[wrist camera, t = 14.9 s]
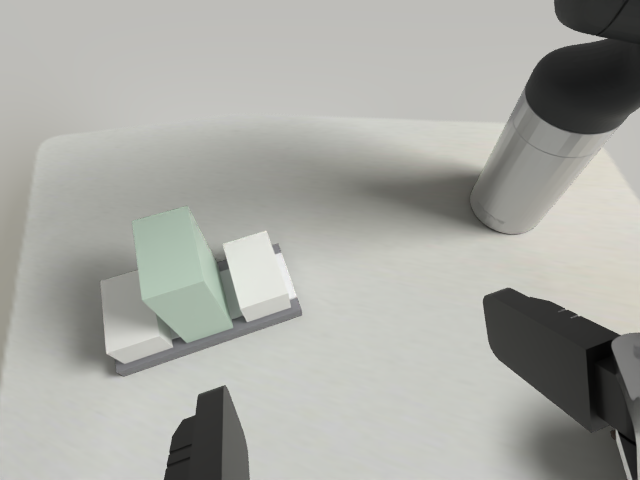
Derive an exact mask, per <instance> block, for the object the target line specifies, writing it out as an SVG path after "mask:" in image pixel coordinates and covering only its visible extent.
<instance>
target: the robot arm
mask: <svg viewBox="0 0 640 480" xmlns="http://www.w3.org/2000/svg"><path fill="white" fill-rule="evenodd" d="M554 5H555V13H556V15H557V18H558V20H559V21H560V22H561V23H562V24H563V25H565V26H567V27H569V28H571V29H573V30H575V31H578V32H582V33H586V34H591V35H596V36H599V37H605V38H608V39H605V40H601V41H596V42H591V43H585V44H578V45H572V46H567V47H563V48H560V49H557V50H554V51H552V52H551V53H549V54H547V55H546V56H545V57H543V58H542V59H541V60H540V62H539V63H538V64H537V66H536V67H535V68H534V70H533V72H532V74H531V76H530V78H529V80H528V82H527V84H526V86H525V88H524V90H523V92H522V94H521V96H520V98H519V100H518V102H517V104H516V106H515V108H514V110H513V112H512V114H511V116H510V118H509V120H508V122H507V124H506V126H505V128H504V129H503V131H502V133H501V135H500V137H499V139H498V141H497V143H496V145H495V147H494V149H493V151H492V153H491V155H490V157H489V159H488V161H487V163H486V165H485V167H484V168H483V170H482V172H481V174H480V176H479V178H478V180H477V182H476V184H475V186H474V188H473V190H472V192H471V196H470V203H471V207H472V210H473V212H474V213H475V215H476V216H477V218H478V219H479V220H480V221H481V222H483V223H484V224H485V225H487V226H488V227H490V228H492V229H494V230H496V231H499V232H502V233H508V234H521V233H524V232H528V231H529V230H531V229H533V228H534V227H535V226H536V225H537V224H538V223H539V222H540V221H541V220H542V218H543V217H544V216H545V215H546V214H547V212H548V211H549V210H550V209H551V208H552V207H553V205H554V204H555V203H556V202H557V201H558V199H559V198H560V197H561V196H562V195H563V193H564V192H565V191H566V190H567V189H568V187H569V186H570V185H571V184H572V183H573V181H574V180H575V179H576V178H577V177H578V175H579V174H580V173H581V172H582V171H583V169H584V168H585V167H586V166H587V165H588V163H589V162H590V161H591V160H592V159H593V157H594V156H595V155H596V154H597V153H598V151H599V150H600V149H601V148H602V147H603V145H604V144H605V143H606V142H607V140H608V139H609V138H610V137H611V135H612V134H613V133H614V132H615V131H616V130H617V128H618V127H619V126H620V125H621V124H622V123H623V122H624V120H625V119H626V118H627V117H628V116H629V115H630V114H631V113H632V112H634V111H635V110H637V109H638V108H639V107H640V0H554ZM483 307H484V314H485V321H486V328H487V334H488V341H489V344H490V347H491V349H492V351H493V353H494V354H495V356H496V357H497V358H498V359H499V360H500V361H501V362H502V363H504V364H505V365H506V366H507V367H509V368H510V369H511V370H512V371H514V372H515V373H516V374H518V375H519V376H520V377H521V378H523V379H524V380H525V381H526V382H528V383H529V384H530V385H532V386H533V387H534V388H535V389H537V390H538V391H539V392H540V393H542V394H543V395H544V396H545V397H547V398H548V399H549V400H551V401H552V402H553V403H554V404H556V405H557V406H558V407H559V408H561V409H562V410H563V411H565V412H566V413H567V414H568V415H570V416H571V417H572V418H573V419H575V420H576V421H577V422H578V423H580V424H581V425H582V426H584V427H585V428H586V429H587V430H589V431H590V432H591V433H592V432H595V431H597V430H599V429H602V428H604V427H606V426H609V425H611V426H612V427H614V428H615V429H616V441H617V445H618V448H619V452H620V455H621V459H622V462H623V466H624V469H625V472H626V476H627V479H628V480H640V333H629V334H624V335H619V334H617V333H615V332H613V331H611V330H609V329H607V328H605V327H602V326H600V325H598V324H596V323H594V322H592V321H590V320H588V319H586V318H584V317H582V316H578V315H577V314H575V313H573V312H571V311H569V310H565V308H563V307H561V306H559V305H557V304H555V303H553V302H550V301H547V300H542V299H537V298H533V297H530V298H529V297H527V296H525V295H523V294H521V293H519V292H517V291H515V290H513V289H511V288H505V289H502V290H500V291H497V292H494V293H491V294H488V295H486V296H484V298H483ZM164 480H250V478H249V461H248V450H247V444H246V440H245V436H244V432H243V429H242V427H241V424H240V421H239V418H238V416H237V413H236V410H235V407H234V405H233V402H232V399H231V396H230V394H229V391H228V389H227V387H226V386H225V385H224V386H221V387H218V388H216V389H213V390H210V391H207V392H204V393H201V394H199V395H198V399H197V407H196V415H195V416H192V417H189V418H187V419H184V420H183V421H182V422H181V424H180V425H179V427H178V428H177V430H176V431H175V433H174V435H173V436H172V441H171V446H170V455H169V457H168V462H167V469H166V472H165V477H164Z"/></svg>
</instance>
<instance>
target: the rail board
mask: <svg viewBox="0 0 640 480" xmlns="http://www.w3.org/2000/svg"><path fill="white" fill-rule="evenodd" d="M223 247H224V251H225V255H226V258H227V259H226V260H223V261H220V262H217V264H218V266H219V271H220V275H221V279H222V283H223V287H224V291H225V295H226V299H227V303H228V307H229V311H230V316H231V320H232V324H233V328H232V329H229V330H226V331H223V332H220V333H217V334H214V335H211V336H208V337H205V338H202V339H199V340H196V341H193V342H189V343H186V342H185V341H184V340H183V339H182V338H181V337H180V336H179V335H178V334H177V333H176V332H175V331H174V330H173V329H172V328H171V327H170V326H169V325H167V324H166V323H165V322H164V321H163V320H162V319H161V318H160V317H159V316H158V315H157V314H156V313H155V312H154V311H153V310H152V309H151V308H150V307H149V306H148V305H146V304H145V303H144V302H143V301H142V296H141V289H140V281H139V273H138V270H135V271H132V272H128V273H125V274H122V275H118V276H115V277H112V278H109V279H105V280H102V281H100V286H101V298H102V310H103V322H104V334H105V346H106V354H107V355H109V356H111V357H113V358H114V359H115V363H116V373H118V374H120V375H122V376H127V375H130V374H133V373H136V372H139V371H142V370H144V369H147V368H150V367H153V366H156V365H159V364H162V363H165V362H168V361H171V360H173V359H176V358H179V357H182V356H185V355H188V354H191V353H194V352H197V351H200V350H203V349H205V348H208V347H211V346H214V345H217V344H220V343H223V342H226V341H229V340H232V339H234V338H237V337H240V336H243V335H246V334H249V333H252V332H255V331H258V330H261V329H264V328H266V327H269V326H272V325H275V324H278V323H281V322H284V321H287V320H290V319H293V318H295V317H298V316H301V315H302V311H301V307H300V304H299V301H298V299H297V295H296V292H295V290H294V287H293V284H292V281H291V278H290V275H289V273H288V270H287V267H286V264H285V261H284V258H283V256H282V253H281V250H280V247H279V245H278V244H275V245H272V244H271V242H270V239H269V236H268V233H267V230H266V231H263V232H260V233H256V234H253V235H250V236H247V237H243V238H240V239H237V240H233V241H230V242H227V243H224V244H223Z"/></svg>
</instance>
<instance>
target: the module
mask: <svg viewBox="0 0 640 480" xmlns="http://www.w3.org/2000/svg"><path fill="white" fill-rule="evenodd" d="M132 226H133V234H134V242H135V250H136V258H137V265H138V273H139V281H140V289H141V296H142V301H143V302H144V303H145V304H146V305H148V306H149V307H150V308H151V309H152V310H153V311H154V312H155V313H156V314H157V315H158V316H159V317H160V318H161V319H162V320H163V321H164V322H165V323H166V324H167V325H169V326H170V327H171V328H172V329H173V330H174V331H175V332H176V333H177V334H178V335H179V336H180V337H181V338H182V339H183V340H184V341H185V342H186V343H189V342H193V341H196V340H199V339H202V338H205V337H208V336H211V335H214V334H217V333H220V332H223V331H226V330H229V329H232V328H233V324H232V320H231V316H230V311H229V307H228V303H227V299H226V295H225V291H224V287H223V283H222V279H221V275H220V271H219V266H218V264H217V262H216V260H215V258H214V256H213V254H212V252H211V250H210V248H209V246H208V244H207V243H206V241H205V239H204V237H203V235H202V233H201V231H200V229H199V227H198V225H197V223H196V221H195V219H194V217H193V215H192V213H191V211H190V209H189V208H188V206H184V207H181V208H177V209H174V210H170V211H166V212H163V213H159V214H156V215H152V216H148V217H145V218H141V219H138V220H134V221H132Z"/></svg>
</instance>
